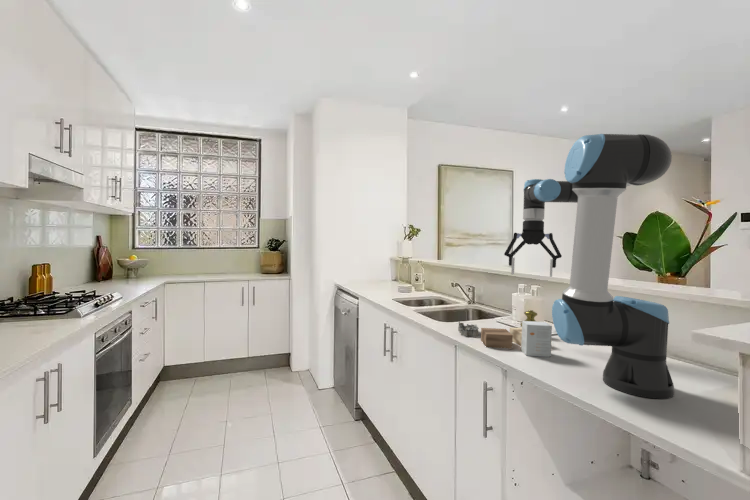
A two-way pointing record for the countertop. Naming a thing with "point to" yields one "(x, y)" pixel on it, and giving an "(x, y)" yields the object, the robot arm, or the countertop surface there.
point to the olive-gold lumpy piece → (530, 316)
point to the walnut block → (496, 338)
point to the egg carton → (468, 330)
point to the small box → (536, 338)
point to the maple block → (516, 335)
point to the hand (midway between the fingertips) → (531, 275)
